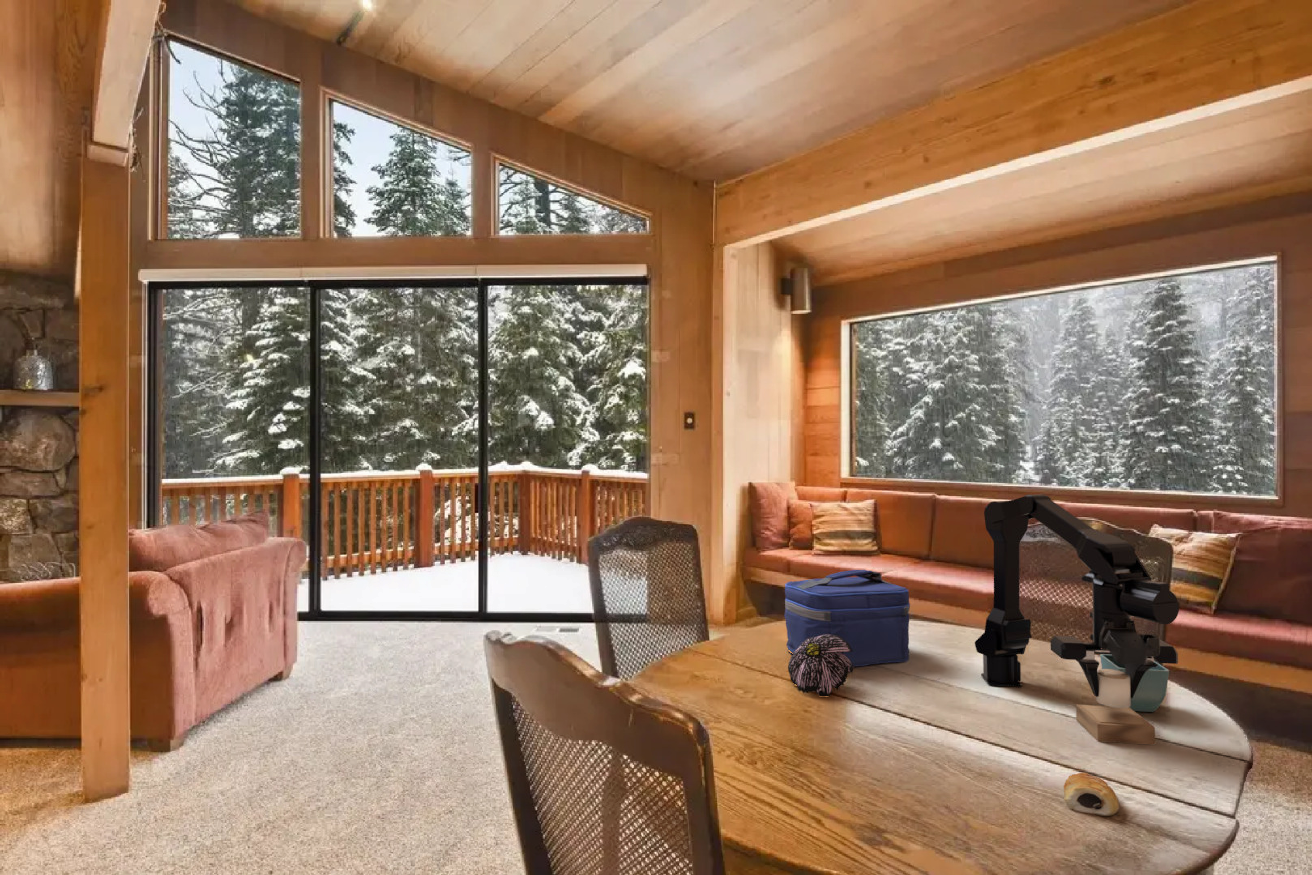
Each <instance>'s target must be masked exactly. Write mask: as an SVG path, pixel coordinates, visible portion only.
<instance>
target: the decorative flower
mask: <svg viewBox="0 0 1312 875" xmlns="http://www.w3.org/2000/svg"><path fill="white" fill-rule="evenodd" d="M851 651H853V650H852V648H851V647H850V644H849V643H847V641H846V640H844V639H843V638H841V637H839V636H837V635H832V634H825V635H820V636H818V637H812V638H808V639H806V640H805V641H804V642H803V643H801V645H800V646H799V648H798V649H796V651H795V652H794V653H793V655H792V654H791V656H790V658H789V660H788V665H787V670H788V673H789V677H790V682H791V683H792V684H793V683H794V684H796V685H797V691H798V690H799V691H798V692H802V693H803V694H805V693H807V694H808V693H809V692H810V693H813V692H815V694H818V697H819V696H829V697H830V696H831V695H832V692H833V688H834V689H836V690H837V691H838V690H839V688H840V687H841V686H844V685H845V682H847V680H846V679H847V678H848V676H849V674H853V672H854V666H853V665H852V663H851V661H850V660H849V659H848V658H847V656H846V655H845V654H843V653H842V652H851ZM794 684H793V685H794Z"/></svg>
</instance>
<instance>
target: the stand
mask: <svg viewBox="0 0 1312 875" xmlns="http://www.w3.org/2000/svg"><path fill="white" fill-rule="evenodd" d="M1075 711H1076V712H1075V714H1076V716H1075V717H1076V718H1075V720H1077V721H1076V723H1078V724H1079V723H1080V724H1081V725H1080V724H1079V725H1080V726H1081V727H1082V728H1083V729H1084V730H1086V732H1088V733H1089V734H1090V735H1091V737H1093V738H1094V739H1095V740H1096V741H1097V742H1102V741H1104V743H1121V744H1137V745H1138V744H1139V745H1153V744H1155V745H1156V727H1155V726H1154V725H1153V724H1152V723H1150V722H1149V721H1148V720H1146V719H1145V718H1143V717H1142V716H1141V715H1140V714H1139V713H1137V711H1133V710H1132V709H1131V708H1129V707H1128V708H1115V707H1110V706H1106V705H1090V704H1075Z"/></svg>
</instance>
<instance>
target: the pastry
mask: <svg viewBox="0 0 1312 875" xmlns="http://www.w3.org/2000/svg"><path fill="white" fill-rule="evenodd" d="M1063 792H1064V798H1063V801H1064V803H1065V804H1066V806H1067V807H1068V808H1069V809H1070V810H1074V811H1076V812H1080V813H1086V814H1094V815H1098V816H1103V817H1109V816H1114V815H1115V814H1116V813H1117V812H1118V810H1119V809H1120V804H1119V800H1118V796H1117V794H1116V792H1115V790H1114V788H1112V787H1111V786H1110V785H1108V783H1107V782H1106V781H1105V780H1104V779H1102V778H1100V777H1098V776H1094V775H1091V774H1089V773H1087V772H1079V773H1074V774H1071V775H1069V776H1068V777H1067V779H1066V780H1065V782H1064V784H1063Z"/></svg>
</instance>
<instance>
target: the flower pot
mask: <svg viewBox="0 0 1312 875" xmlns="http://www.w3.org/2000/svg"><path fill="white" fill-rule="evenodd" d="M1099 657H1100V665H1101V669H1112V670H1118V671H1121V672H1124V673H1125V664H1121V663H1118V662H1116V661H1115V660H1114V658H1113V656H1112V654H1099ZM1154 662H1155V663H1157V664H1158V666H1157V667H1152V668H1150V669H1149V670H1147V671H1146V672H1145V674H1144V675H1143V677H1142V678H1141V681H1140V683H1139V685H1138V687H1137V690H1136V692H1135V694H1134V696H1133V698H1131V706H1130V707H1129V708H1131V709H1132V710H1133V711H1135V712H1143V713H1144V712H1147V713H1153V712H1155V711H1156V710H1157V709H1158V708H1159V707H1160V706H1161V705H1162V703H1163V701H1164V700H1165V697H1166V694H1167V689H1168V680H1169V674H1170V670H1169V669H1168V668H1166V667H1164V666H1163V665H1162V664H1161V663H1159V662H1158V661H1156V660H1154Z"/></svg>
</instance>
